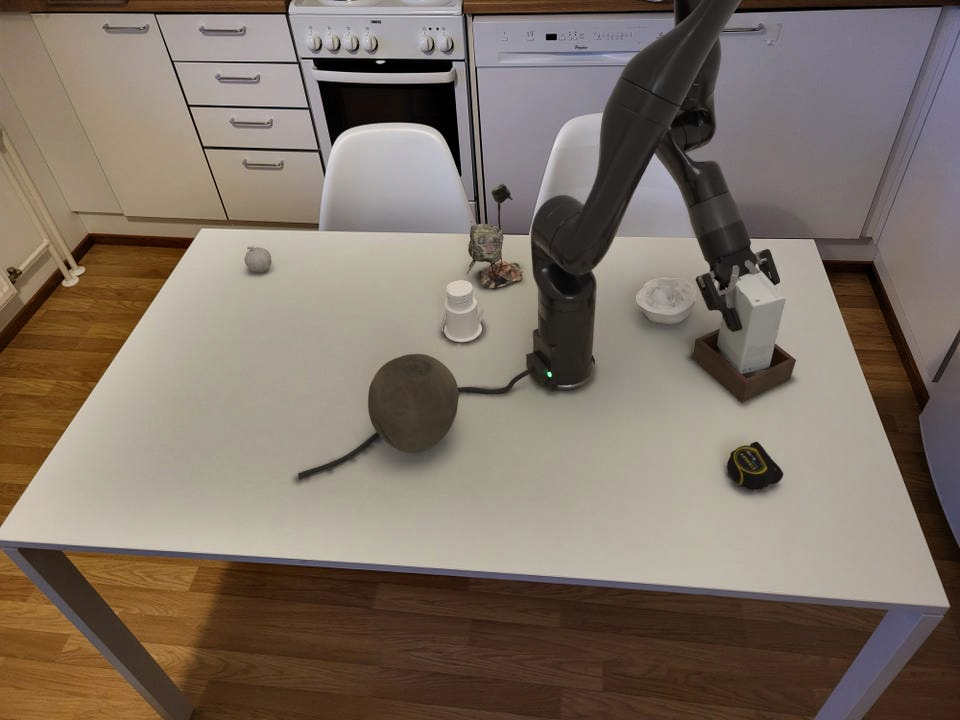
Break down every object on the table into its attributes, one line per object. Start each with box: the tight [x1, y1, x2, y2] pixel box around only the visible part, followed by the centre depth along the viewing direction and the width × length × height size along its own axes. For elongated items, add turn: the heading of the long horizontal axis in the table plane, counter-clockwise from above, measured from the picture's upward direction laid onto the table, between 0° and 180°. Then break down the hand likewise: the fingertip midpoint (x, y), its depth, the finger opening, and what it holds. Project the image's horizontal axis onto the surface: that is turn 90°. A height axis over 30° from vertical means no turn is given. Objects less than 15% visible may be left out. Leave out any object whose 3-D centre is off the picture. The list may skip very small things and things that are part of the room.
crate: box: [691, 328, 797, 404], centre depth 131 cm, size 11×13×4 cm
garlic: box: [244, 246, 272, 273], centre depth 159 cm, size 6×5×5 cm
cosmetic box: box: [717, 270, 787, 375], centre depth 125 cm, size 8×6×15 cm
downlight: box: [440, 279, 484, 343], centre depth 140 cm, size 8×7×10 cm
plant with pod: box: [465, 183, 524, 289], centre depth 148 cm, size 8×11×20 cm
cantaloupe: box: [367, 353, 459, 454], centre depth 120 cm, size 14×14×15 cm
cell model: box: [635, 276, 698, 325], centre depth 141 cm, size 10×12×7 cm
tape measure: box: [726, 441, 784, 491], centre depth 114 cm, size 7×7×4 cm
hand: (755, 322), depth 124 cm, fingers closed on cosmetic box, 7 cm apart
